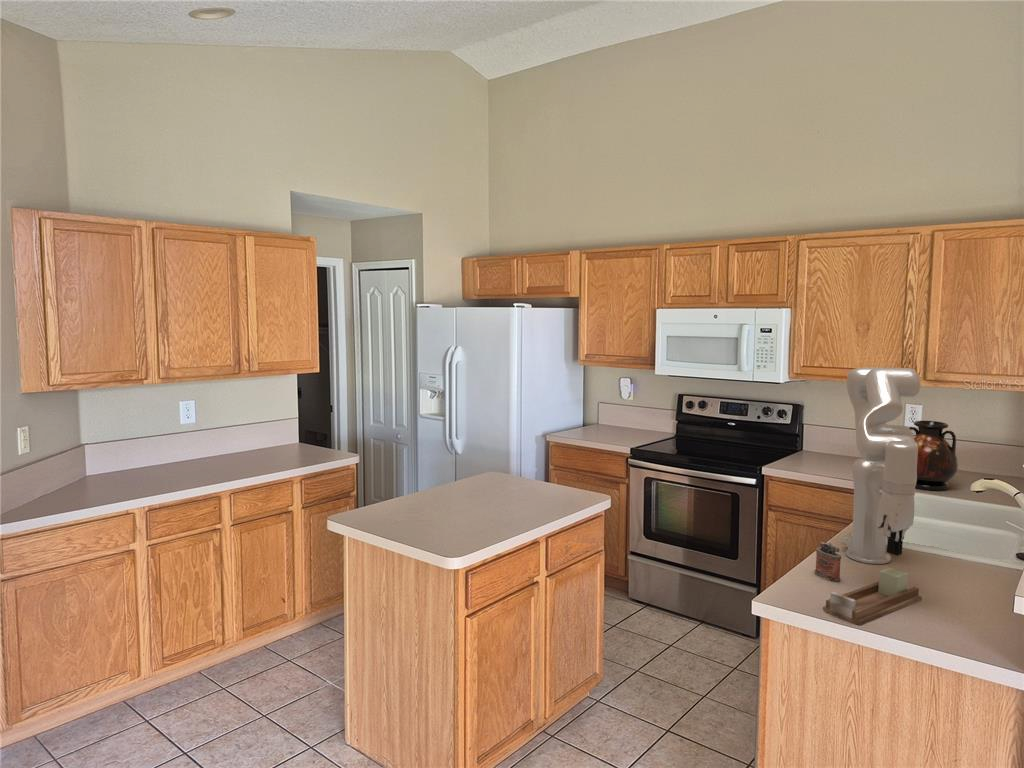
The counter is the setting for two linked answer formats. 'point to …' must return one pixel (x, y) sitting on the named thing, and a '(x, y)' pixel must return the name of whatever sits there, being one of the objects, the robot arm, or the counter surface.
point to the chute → (868, 603)
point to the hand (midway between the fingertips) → (894, 553)
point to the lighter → (828, 562)
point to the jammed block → (892, 581)
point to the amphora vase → (934, 456)
